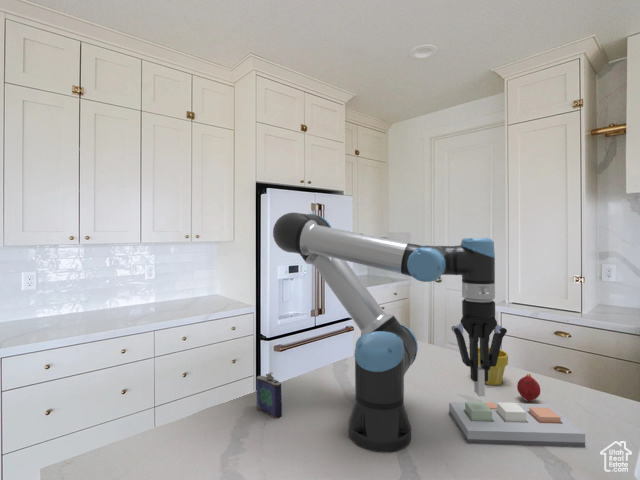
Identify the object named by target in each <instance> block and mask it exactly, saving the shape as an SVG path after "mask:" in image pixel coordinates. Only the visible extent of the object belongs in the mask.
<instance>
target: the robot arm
mask: <svg viewBox="0 0 640 480" xmlns="http://www.w3.org/2000/svg"><path fill="white" fill-rule="evenodd" d="M272 237H273V239H274V242H275V245H276V246H277V247H278V248H280V250H282V251H284V252H287V253H293V254H299V256H300V257H301V258H302V259H303V261H304V262H305V263H306V264H308V265H313V266H314V267H315V269H316V270H317V272H318V273H319V274H320V276H321V278H322V279H323V280H324V281H325V283H326V284H327V286H328V287H329V288H330V289H331V291H332V292H333V294H334V295H335V297H336V298H337V300H338V301H339V302H340V304H341V305H342V306H343V307H344V309H345V311H346V312H347V313H348V315H349V316H350V318H351V319H352V320H353V322H354V323H355V325H356V326H357V327H358V329H359V330H360V336H359V337H358V338H357V340H356V342H355V349H354V369H355V370H354V375H355V377H354V379H355V380H354V381H355V384H354V385H355V386H354V387H355V391H354V392H355V395H354V396H355V399H354V400H355V401H354V404H353V406H352V409H351V412H350V413H351V414H350V416H349V420H348V423H347V425H348V427H347V428H348V429H347V430H348V435H349V438H350V440H351V441H352V442H354V443H355V444H356V445H357V446H359V447H362V448H363V449H366V450H369V451H373V452H381V453H384V452H385V453H387V452H388V453H390V452H396V451H400V450H401V449H404V448H406V447H407V446H409V445H410V443H411V441H412V425H411V422H410V419H409V416H408V412H407V409H406V406H405V402H404V401H405V397H404V396H405V384H404V383H405V375H406V373H407V371H408V370H409V368H410V367H411V366H412V365H413V363H414V362H415V361H416V357H417V353H418V349H419V348H418V346H419V345H418V344H419V343H418V341H417V337H416V335H415V334H414V332H413V331H412V330H411V329H410V328H409V327H408V326H406V325H404V324H401V323H400V322H399V321H398V319H397V317H395V315H394V314H392V313H386V312H385V310H383V308H382V307H381V305H380V304H379V302H377V301H376V299H375V298H374V296H373V295H372V293H370V291H369V290H368V288H367V287H366V285H365V284H364V283H363V282H362V280H361V279H360V278H359V277H358V275H357V274H356V272H355V271H354V270H353V268H352V267H351V265H349V263H354V264H357V265H363V266H366V267H371V268H375V269H380V270H385V271H388V272H393V273H396V274H401V275H405V276H409V277H412V278H413V279H415V280H416V281H419V282H423V283H426V282H427V283H429V282H435V280H438V279H439V278H441V276H442V275H443V276H444V275H445V276H461V297H462V298H463V299H462V301H461V305H462V306H461V308H462V309H461V310H462V311H461V313H462V317H461V319H460V322H459V324H456V325H453V326H451V330H452V332H453V333H454V335H455V337H456V341H457V342H456V343H457V345H458V349H459V353H460V356H461V361H462V363H463V364H464V365H465V366H466V367H469V368H470V379H471V381H472V382H473V383H474V384H473V385H474V386H473V387H474V390H473V391H474V393H475V394H476V395H477V397H485V396H486V393H485V390H486V385H485V384H486V383H485V381H488V370H490V367H492V366H493V367H495V366H496V364H497V360H498V356H499V352H500V350H501V347H502V343H503V339H504V337H505V336H506V334H507V333H508V332H507V331H508V330H507V329H506V327H504V326H501V325H499V324H498V321H497V319H496V302H495V301H494V300H495V299H496V282H495V281H496V280H495V279H496V270H495V268H496V267H495V266H496V265H495V264H496V261H495V260H496V255H495V241H494V240H493V239H492V238H490V237H464V238H462V239H461V243H460V245H420V244H415V243H409V242H405V241H400V240H393V239H390V238H385V237H384V238H383V237H379V236H374V235H369V234H365V233H359V232H355V231H349V230H344V229H339V228H335V227H332V225H331V224H330V222H328V220H327V219H325V218H324V217H322V216H320V215H317V214H313V213H308V214H307V213H301V212H289V213H288V212H287V213H285V214H283V215H281V216H280V217H279V218H278V219H277V220H276V222H275V224H274V225H273V231H272ZM348 262H349V263H348ZM464 331H466V333H467V334H468V339H469V344H468V345H469V347H467V345H466V344H467V343H466V340H465V337H464V335H463V334H464ZM493 332H494V333H493ZM492 333H493V335H492V338H491V343H490V345H489V342H490V335H491V334H492ZM478 347H480V365H481V366H478ZM467 348H469V352H468V349H467ZM489 348H490V351H489Z"/></svg>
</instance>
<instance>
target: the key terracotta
mask: <svg viewBox="0 0 640 480" xmlns="http://www.w3.org/2000/svg"><path fill="white" fill-rule="evenodd" d="M529 414H530V415H531V416H532V417H533V418H534V419H535V420H537V421H538V422H539V423H558V424H561V417H559V416H558V415H557V414H556V413H555V412H553V411H552V410H551V409H550V408H540V407H529Z"/></svg>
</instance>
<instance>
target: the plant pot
mask: <svg viewBox="0 0 640 480" xmlns="http://www.w3.org/2000/svg"><path fill="white" fill-rule="evenodd" d="M489 351H490V347H489ZM508 364H509V354H508V352H506V351H505V350H502V349H500V352H499V356H498V360H497V364H496V366H495V367H493V366H492V367H490V370H488V381H485V384H486V385H491V386H499V385H501V384H502V382H503V376H504V375H505V374H504V373H505V370H506V367H507V366H508ZM478 366H481V365H480V346H478Z"/></svg>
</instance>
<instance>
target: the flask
mask: <svg viewBox="0 0 640 480" xmlns="http://www.w3.org/2000/svg"><path fill="white" fill-rule="evenodd" d="M272 374H273V372H269V373H265V376H264V375H258V376H256V377H255V378H256V380H255V385H256V392H255V393H256V401H255V402H256V406H255V407H256V410H257V411H259V412H262V413H263V414H266V415H268V416H271V417H272V418H274V419H281V418H282V416H283V409H282V408H283V405H282V382H280V381H278V379H275V377H274V376H272ZM280 417H281V418H280Z"/></svg>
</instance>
